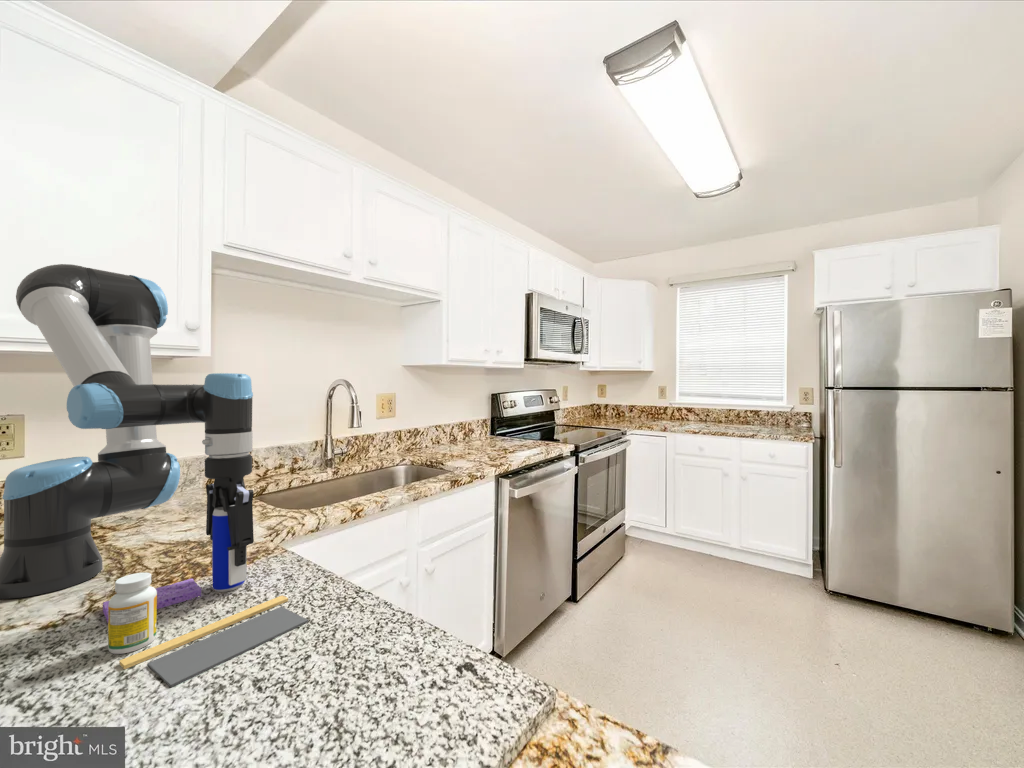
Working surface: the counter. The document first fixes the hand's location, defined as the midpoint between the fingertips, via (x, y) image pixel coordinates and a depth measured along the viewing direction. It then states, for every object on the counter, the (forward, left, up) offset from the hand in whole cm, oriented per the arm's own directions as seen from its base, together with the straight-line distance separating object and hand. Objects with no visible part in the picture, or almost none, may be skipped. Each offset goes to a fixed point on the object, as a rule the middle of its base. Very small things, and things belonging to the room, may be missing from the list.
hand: (229, 577), depth 81 cm
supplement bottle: (+8, -16, -2) cm, 18 cm away
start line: (+14, -8, -2) cm, 16 cm away
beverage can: (0, 0, -2) cm, 2 cm away
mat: (+21, -8, -2) cm, 22 cm away
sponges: (-5, -10, -2) cm, 11 cm away
